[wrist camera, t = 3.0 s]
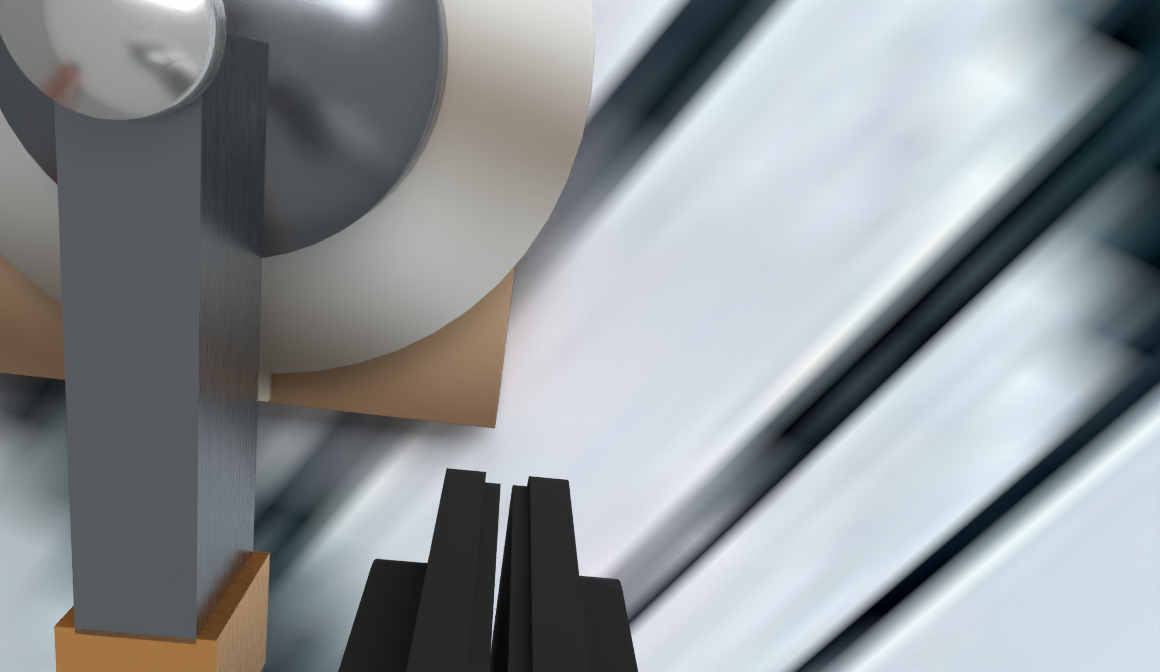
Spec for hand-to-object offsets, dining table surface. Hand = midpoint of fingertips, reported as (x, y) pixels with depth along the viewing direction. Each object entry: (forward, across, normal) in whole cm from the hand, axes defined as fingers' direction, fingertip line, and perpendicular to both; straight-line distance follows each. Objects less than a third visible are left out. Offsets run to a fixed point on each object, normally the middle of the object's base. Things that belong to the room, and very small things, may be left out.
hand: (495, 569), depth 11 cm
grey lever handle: (+5, +5, -2) cm, 8 cm away
